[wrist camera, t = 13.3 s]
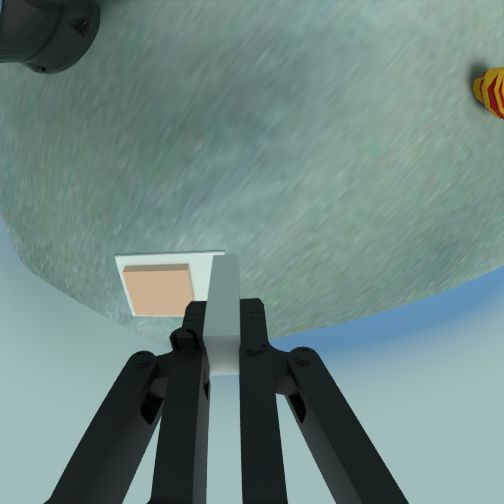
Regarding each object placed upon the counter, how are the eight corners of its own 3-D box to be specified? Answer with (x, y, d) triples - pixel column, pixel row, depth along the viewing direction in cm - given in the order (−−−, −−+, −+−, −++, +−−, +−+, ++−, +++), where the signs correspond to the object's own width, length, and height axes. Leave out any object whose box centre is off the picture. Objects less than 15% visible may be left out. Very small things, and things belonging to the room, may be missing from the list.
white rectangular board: (224, 250, 49) (224, 252, 49) (229, 313, 56) (229, 315, 55) (115, 254, 48) (114, 256, 48) (133, 313, 55) (133, 315, 55)
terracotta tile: (187, 270, 48) (122, 271, 47) (195, 315, 52) (135, 315, 52) (189, 263, 49) (125, 265, 49) (196, 308, 54) (138, 308, 54)
